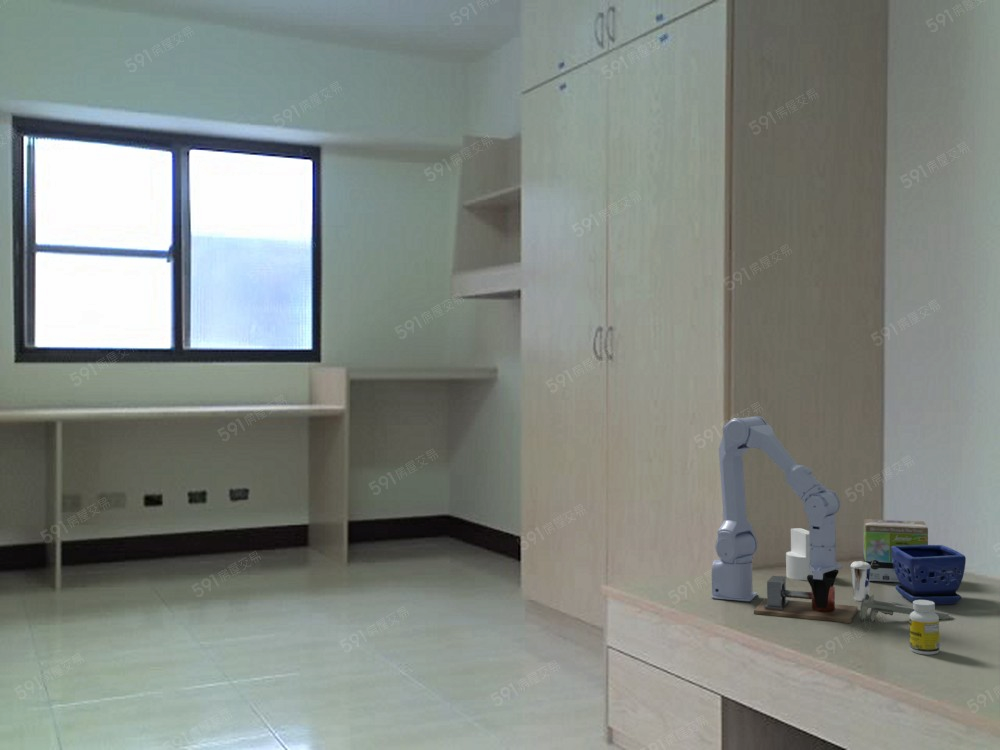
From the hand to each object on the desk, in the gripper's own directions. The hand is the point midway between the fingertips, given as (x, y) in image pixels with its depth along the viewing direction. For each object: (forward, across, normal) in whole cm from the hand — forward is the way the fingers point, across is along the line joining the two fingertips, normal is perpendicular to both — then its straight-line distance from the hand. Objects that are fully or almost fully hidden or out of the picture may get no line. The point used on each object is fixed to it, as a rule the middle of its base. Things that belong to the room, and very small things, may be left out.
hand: (823, 604), depth 232 cm
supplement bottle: (+2, -22, -23) cm, 32 cm away
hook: (+1, 0, +5) cm, 5 cm away
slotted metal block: (+1, 0, +10) cm, 10 cm away
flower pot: (+2, +21, -21) cm, 30 cm away
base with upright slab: (+2, +36, +10) cm, 38 cm away
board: (+2, 0, +4) cm, 4 cm away
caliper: (+2, +1, -18) cm, 18 cm away
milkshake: (+2, +16, -7) cm, 17 cm away
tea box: (+2, +41, -12) cm, 43 cm away
